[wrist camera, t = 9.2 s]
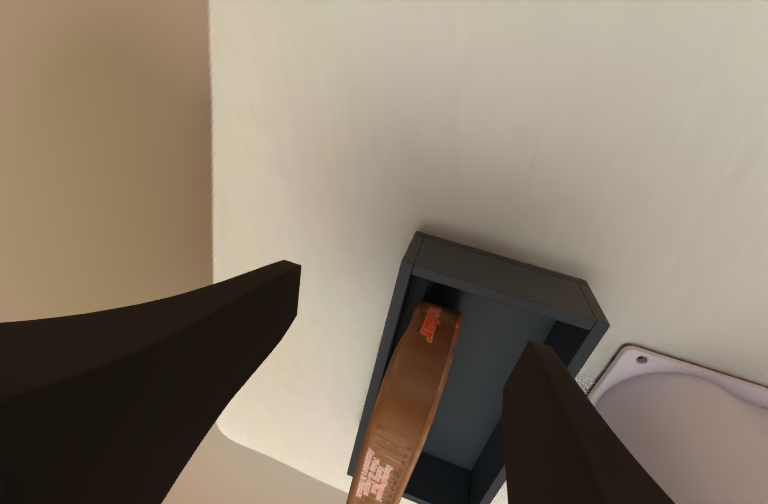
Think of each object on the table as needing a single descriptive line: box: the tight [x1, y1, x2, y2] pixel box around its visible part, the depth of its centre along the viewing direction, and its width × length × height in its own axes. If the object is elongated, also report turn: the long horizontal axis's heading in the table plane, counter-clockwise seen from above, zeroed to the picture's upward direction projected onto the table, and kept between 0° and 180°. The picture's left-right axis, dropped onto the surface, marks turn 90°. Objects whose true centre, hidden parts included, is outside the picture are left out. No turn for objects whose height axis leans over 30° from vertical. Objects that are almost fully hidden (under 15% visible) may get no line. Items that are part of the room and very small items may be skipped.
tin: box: [346, 300, 462, 504], centre depth 20 cm, size 15×3×8 cm, turn 168°
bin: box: [347, 232, 610, 504], centre depth 22 cm, size 10×19×4 cm, turn 168°
